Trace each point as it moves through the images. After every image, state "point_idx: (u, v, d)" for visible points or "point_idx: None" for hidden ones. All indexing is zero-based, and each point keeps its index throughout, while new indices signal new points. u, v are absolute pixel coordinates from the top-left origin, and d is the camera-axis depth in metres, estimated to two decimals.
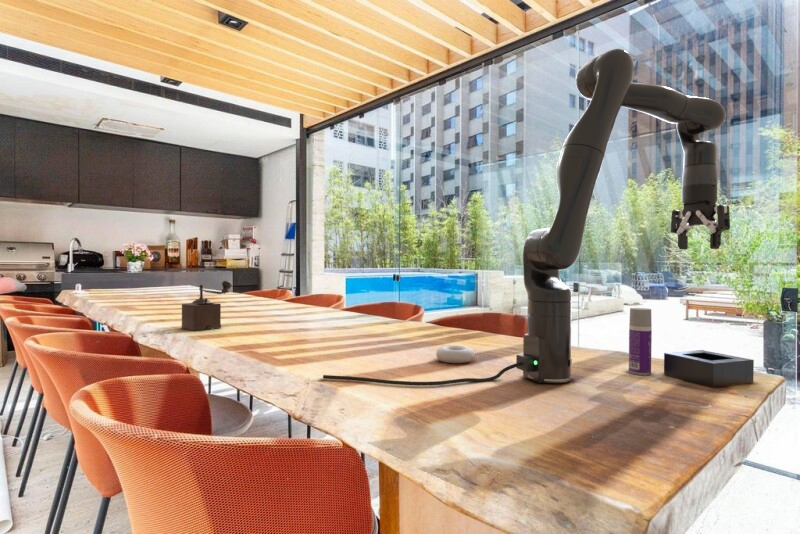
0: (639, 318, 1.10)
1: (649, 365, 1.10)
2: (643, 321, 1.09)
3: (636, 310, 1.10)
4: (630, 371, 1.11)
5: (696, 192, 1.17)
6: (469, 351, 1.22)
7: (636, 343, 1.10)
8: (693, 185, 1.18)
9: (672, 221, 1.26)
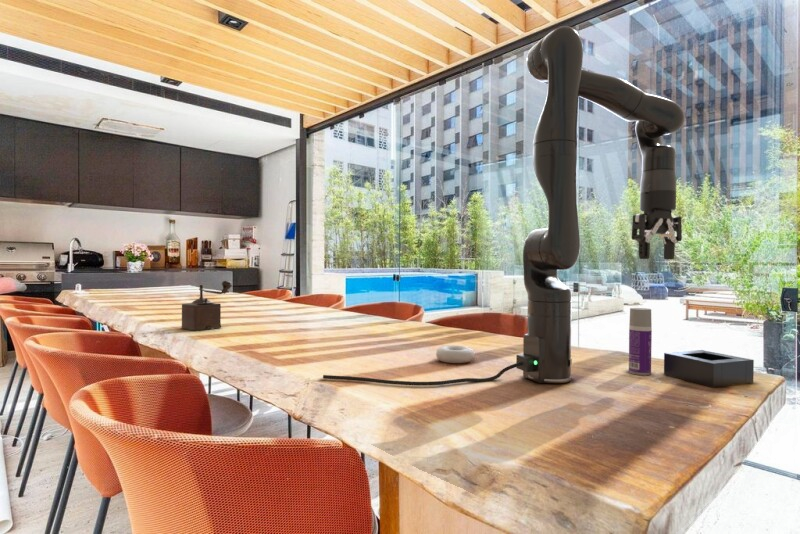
0: (639, 318, 1.10)
1: (649, 365, 1.10)
2: (643, 321, 1.09)
3: (636, 310, 1.10)
4: (630, 371, 1.11)
5: None
6: (469, 351, 1.22)
7: (636, 343, 1.10)
8: None
9: None
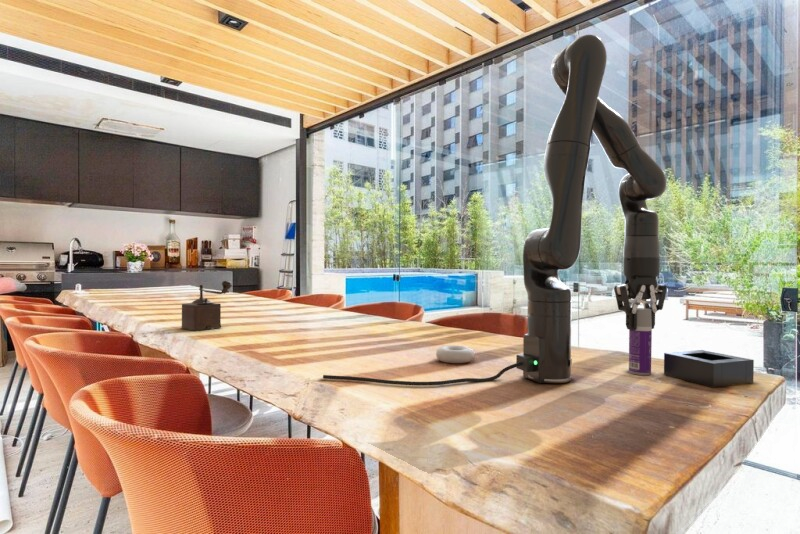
0: (639, 318, 1.10)
1: (649, 365, 1.10)
2: (643, 321, 1.09)
3: None
4: (630, 371, 1.11)
5: None
6: (469, 351, 1.22)
7: (637, 343, 1.10)
8: None
9: None
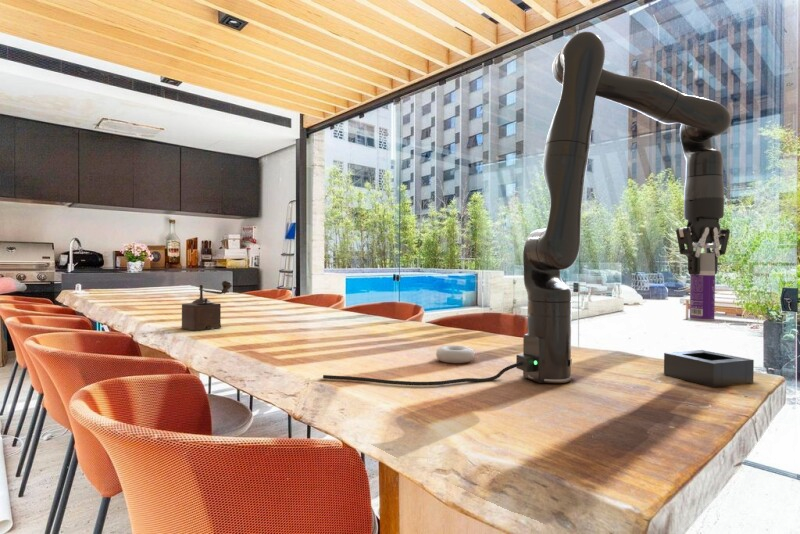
0: (702, 262, 1.05)
1: (712, 311, 1.05)
2: (707, 265, 1.04)
3: None
4: (692, 318, 1.07)
5: None
6: (469, 351, 1.22)
7: (700, 288, 1.05)
8: None
9: None
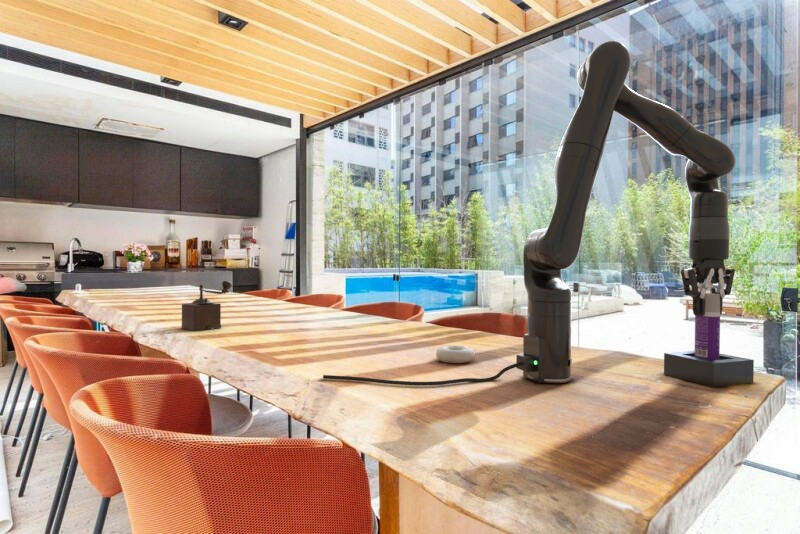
0: (707, 303, 1.04)
1: (717, 353, 1.04)
2: (712, 306, 1.04)
3: None
4: None
5: None
6: (469, 351, 1.22)
7: (704, 329, 1.05)
8: None
9: None
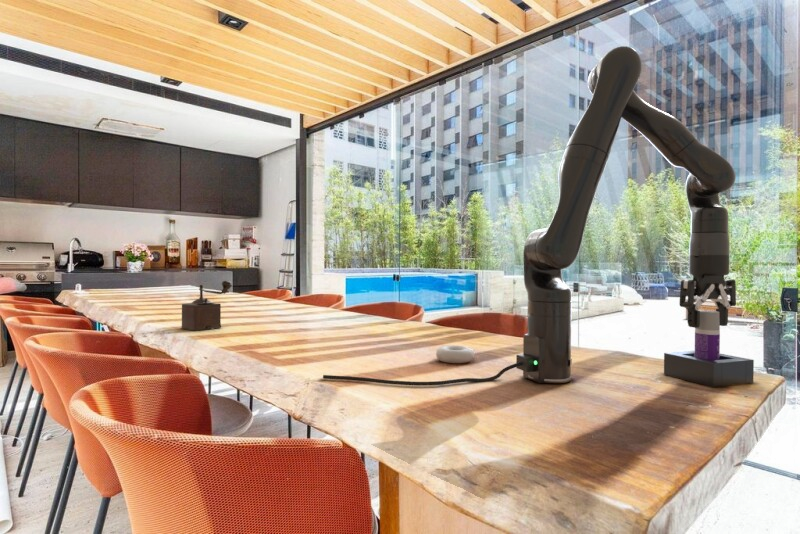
0: (707, 322, 1.05)
1: None
2: (712, 324, 1.04)
3: (704, 313, 1.05)
4: None
5: None
6: (469, 351, 1.22)
7: (704, 347, 1.05)
8: None
9: None
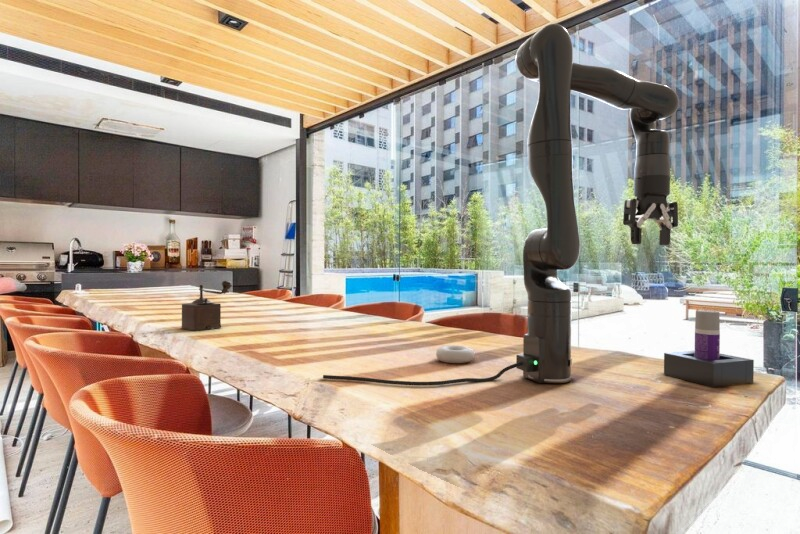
0: (707, 322, 1.05)
1: None
2: (712, 324, 1.04)
3: (704, 313, 1.05)
4: None
5: None
6: (469, 351, 1.22)
7: (704, 347, 1.05)
8: None
9: None
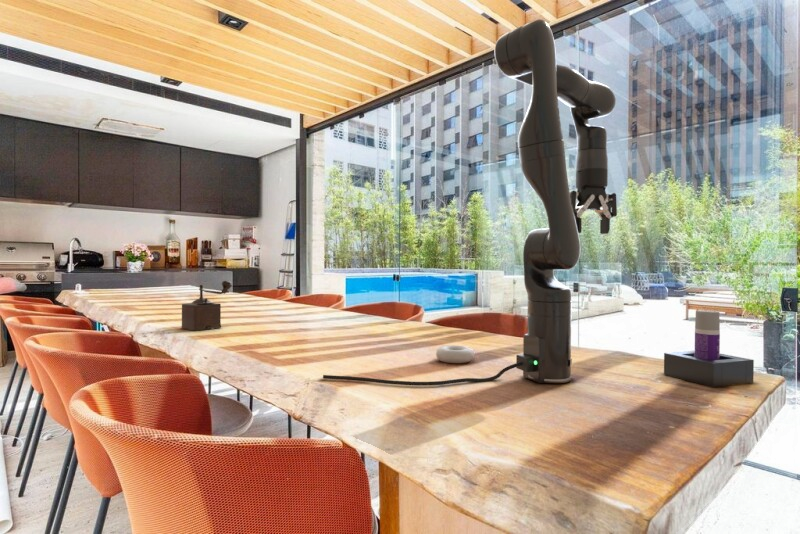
0: (707, 322, 1.05)
1: None
2: (712, 324, 1.04)
3: (704, 313, 1.05)
4: None
5: None
6: (469, 351, 1.22)
7: (704, 347, 1.05)
8: None
9: None
